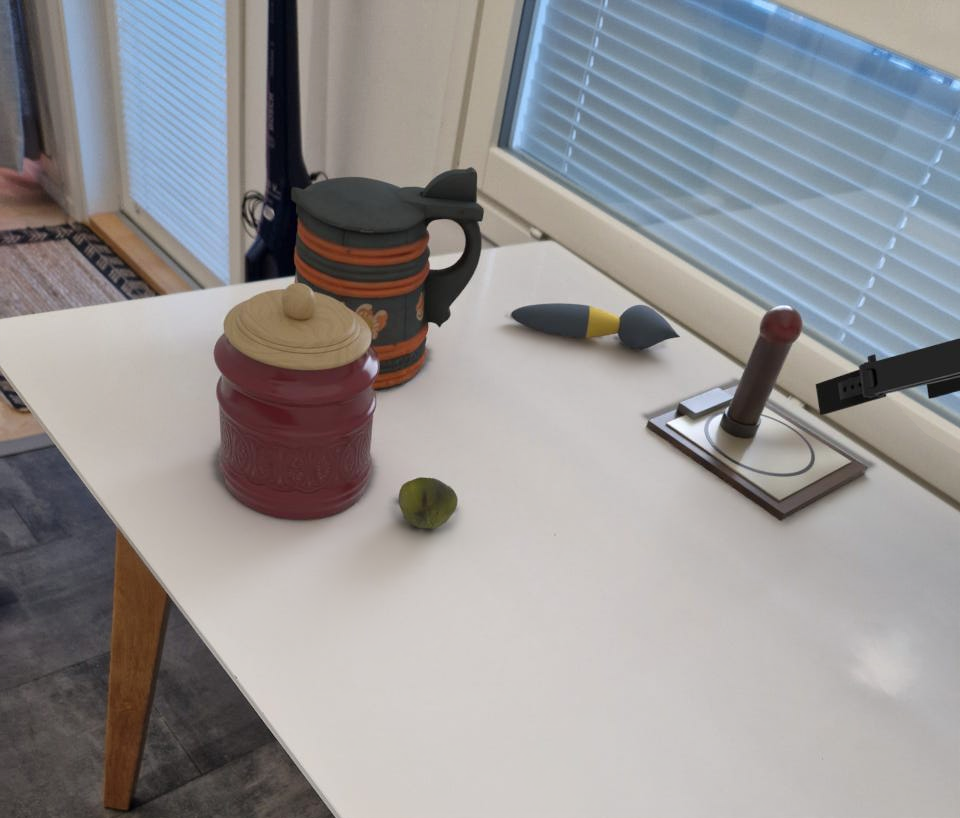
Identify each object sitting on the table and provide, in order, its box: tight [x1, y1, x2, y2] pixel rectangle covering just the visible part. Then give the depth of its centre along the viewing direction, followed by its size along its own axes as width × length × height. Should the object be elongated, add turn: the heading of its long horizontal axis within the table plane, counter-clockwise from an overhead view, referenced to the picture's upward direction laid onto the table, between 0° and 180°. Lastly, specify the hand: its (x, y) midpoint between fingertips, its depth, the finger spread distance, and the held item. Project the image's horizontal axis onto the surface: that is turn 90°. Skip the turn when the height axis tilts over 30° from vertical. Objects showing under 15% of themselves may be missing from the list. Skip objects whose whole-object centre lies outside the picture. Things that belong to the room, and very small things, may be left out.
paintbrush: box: [510, 302, 681, 351], centre depth 105 cm, size 20×5×5 cm, turn 91°
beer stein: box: [290, 166, 485, 390], centre depth 89 cm, size 19×15×20 cm
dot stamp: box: [720, 304, 803, 438], centre depth 91 cm, size 4×4×14 cm
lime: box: [398, 476, 459, 529], centre depth 76 cm, size 4×5×5 cm
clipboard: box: [645, 384, 869, 521], centre depth 95 cm, size 18×16×2 cm
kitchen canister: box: [213, 283, 380, 520], centre depth 74 cm, size 13×13×18 cm
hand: (876, 391), depth 82 cm, fingers open, 13 cm apart
